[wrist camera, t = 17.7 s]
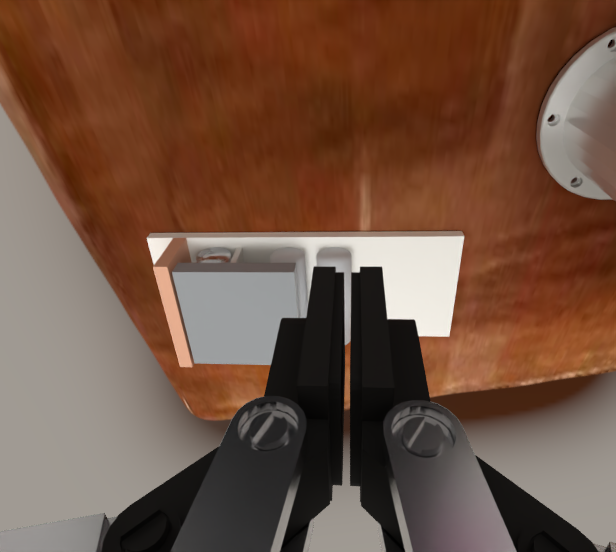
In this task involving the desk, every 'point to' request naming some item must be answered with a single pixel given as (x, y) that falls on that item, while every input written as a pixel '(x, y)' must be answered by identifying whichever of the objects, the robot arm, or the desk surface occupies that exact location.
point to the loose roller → (214, 255)
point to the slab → (235, 309)
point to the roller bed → (390, 250)
